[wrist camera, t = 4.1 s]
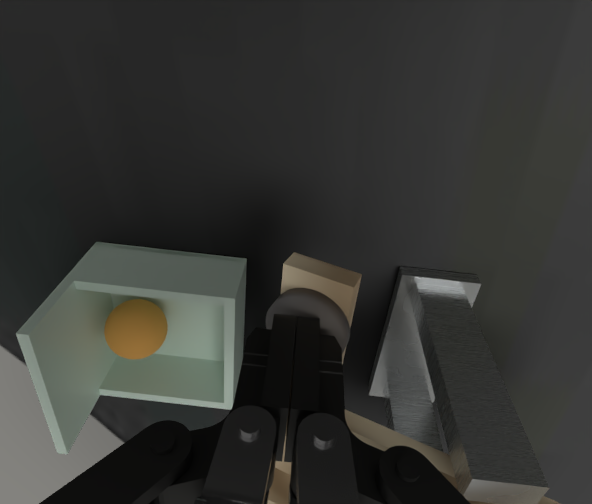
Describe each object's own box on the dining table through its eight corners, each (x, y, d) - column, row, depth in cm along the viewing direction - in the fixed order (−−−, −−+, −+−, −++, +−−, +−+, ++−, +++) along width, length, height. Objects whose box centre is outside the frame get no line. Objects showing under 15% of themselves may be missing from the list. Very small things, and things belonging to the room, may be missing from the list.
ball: (173, 316, 22) (156, 281, 24) (106, 334, 21) (94, 295, 23) (176, 360, 24) (160, 324, 26) (115, 380, 22) (103, 340, 25)
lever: (270, 450, 21) (233, 515, 18) (291, 247, 15) (239, 302, 12) (663, 645, 16) (690, 774, 13) (950, 463, 10) (1110, 639, 7)
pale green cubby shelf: (96, 241, 23) (15, 333, 17) (246, 258, 23) (218, 356, 17) (116, 349, 27) (57, 453, 21) (242, 364, 27) (219, 471, 21)
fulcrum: (367, 384, 27) (388, 593, 18) (400, 266, 22) (450, 468, 13) (430, 392, 27) (482, 603, 18) (476, 274, 22) (580, 483, 13)
